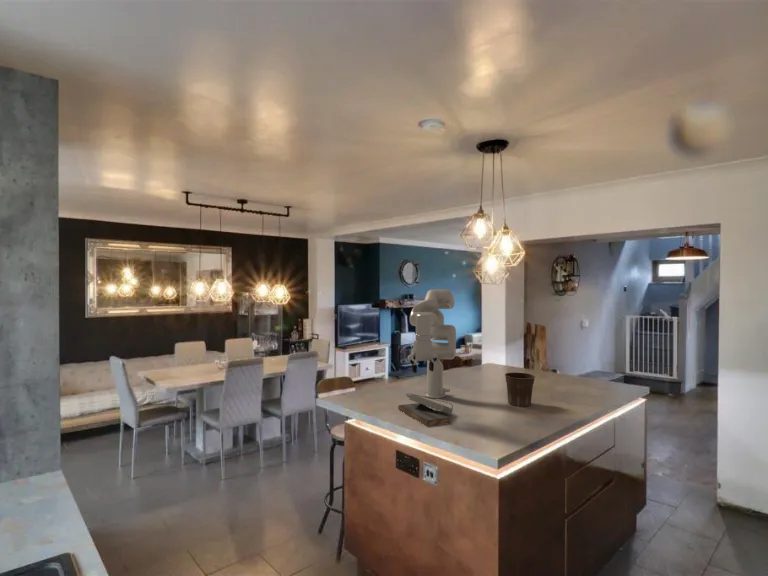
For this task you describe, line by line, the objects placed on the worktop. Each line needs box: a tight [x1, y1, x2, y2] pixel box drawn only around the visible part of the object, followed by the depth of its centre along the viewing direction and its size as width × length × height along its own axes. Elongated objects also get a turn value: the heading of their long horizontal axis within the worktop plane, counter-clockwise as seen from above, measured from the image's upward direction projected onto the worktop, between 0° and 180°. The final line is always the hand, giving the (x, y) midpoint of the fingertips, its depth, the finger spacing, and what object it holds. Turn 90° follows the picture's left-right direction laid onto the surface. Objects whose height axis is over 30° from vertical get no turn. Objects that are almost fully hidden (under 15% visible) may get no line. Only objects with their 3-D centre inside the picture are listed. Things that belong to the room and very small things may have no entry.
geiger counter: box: [405, 393, 454, 415], centre depth 225 cm, size 14×6×25 cm
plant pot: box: [504, 372, 536, 408], centre depth 243 cm, size 16×16×16 cm
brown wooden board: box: [397, 402, 452, 427], centre depth 218 cm, size 13×30×2 cm, turn 24°
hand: (422, 371), depth 223 cm, fingers open, 9 cm apart
